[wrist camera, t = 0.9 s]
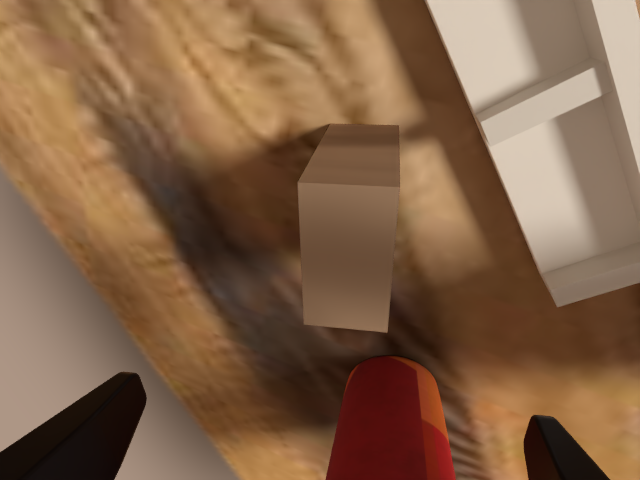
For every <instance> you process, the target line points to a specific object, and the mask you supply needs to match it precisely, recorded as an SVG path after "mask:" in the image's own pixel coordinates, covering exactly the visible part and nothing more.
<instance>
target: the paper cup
mask: <svg viewBox="0 0 640 480" xmlns="http://www.w3.org/2000/svg"><path fill="white" fill-rule="evenodd" d="M326 480H456V479H455V473H454V468H453V462H452V457H451V451H450V446H449V441H448V435H447V430H446V425H445V419H444V414H443V409H442V404H441V399H440V395H439V391H438V387H437V384H436V381H435V379H434V377H433V375H432V374H431V373H430V372H429V371H428V370H427V369H426V368H425V367H424V366H422V365H421V364H419V363H417V362H415V361H413V360H410V359H408V358H404V357H399V356H377V357H373V358H370V359H367V360H365V361H363V362H361V363H360V364H358V365H357V366H356V367H355V368H354V369H353V370H352V372H351V373H350V375H349V378H348V381H347V384H346V388H345V392H344V397H343V401H342V405H341V410H340V414H339V419H338V424H337V428H336V433H335V438H334V442H333V447H332V452H331V457H330V462H329V466H328V471H327V476H326Z"/></svg>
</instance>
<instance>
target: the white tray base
mask: <svg viewBox="0 0 640 480" xmlns="http://www.w3.org/2000/svg"><path fill="white" fill-rule="evenodd" d="M424 1H425V3H426V5H427V8H428V10H429V12H430V15H431V17H432V20H433V22H434V24H435V27H436V29H437V31H438V34H439V36H440V39H441V41H442V43H443V46H444V48H445V50H446V53H447V55H448V58H449V60H450V62H451V65H452V67H453V69H454V72H455V74H456V77H457V79H458V81H459V84H460V86H461V88H462V91H463V93H464V96H465V98H466V100H467V103H468V105H469V107H470V110H471V112H472V115H473V117H474V119H475V122H476V124H477V126H478V129H479V131H480V134H481V136H482V138H483V141H484V143H485V146H486V148H487V150H488V153H489V155H490V157H491V160H492V162H493V165H494V167H495V169H496V172H497V174H498V176H499V179H500V181H501V184H502V186H503V188H504V191H505V193H506V195H507V198H508V200H509V203H510V205H511V207H512V210H513V212H514V214H515V217H516V219H517V222H518V224H519V226H520V229H521V231H522V233H523V236H524V238H525V241H526V243H527V245H528V248H529V250H530V252H531V255H532V257H533V260H534V262H535V264H536V267H537V269H538V271H539V274H540V275H541V277H542V279H543V281H544V283H545V285H546V287H547V289H548V291H549V293H550V294H551V296H552V298H553V300H554V302H555V304H556V306H557V307H560V306H563V305H567V304H570V303H573V302H577V301H580V300H583V299H587V298H590V297H593V296H597V295H600V294H604V293H607V292H610V291H614V290H617V289H620V288H624V287H627V286H630V285H634V284H637V283H640V19H639V15H638V11H637V7H636V3H635V0H424Z"/></svg>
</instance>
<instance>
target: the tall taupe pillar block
mask: <svg viewBox="0 0 640 480" xmlns="http://www.w3.org/2000/svg"><path fill="white" fill-rule="evenodd" d="M399 192H400V159H399V125H361V124H330V125H329V127H328V128H327V130H326V132H325V134H324V136H323V137H322V139H321V141H320V143H319V145H318V146H317V148H316V150H315V152H314V154H313V155H312V157H311V159H310V161H309V163H308V164H307V166H306V168H305V170H304V172H303V174H302V175H301V177H300V179H299V181H298V204H299V226H300V248H301V271H302V293H303V315H304V324H305V325H315V326H325V327H335V328H346V329H356V330H366V331H376V332H387V331H388V320H389V308H390V297H391V285H392V273H393V262H394V250H395V239H396V227H397V215H398V204H399Z"/></svg>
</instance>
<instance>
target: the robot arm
mask: <svg viewBox="0 0 640 480" xmlns="http://www.w3.org/2000/svg"><path fill="white" fill-rule="evenodd" d="M146 399H147V398H146V393H145V390H144V388H143V385H142V382H141V379H140V377H139V375H138V374H137V373H130V372H120V373H118V374H116V375H115V376H113V377H112V378H110V379H109V380H107V381H106V382H104V383H103V384H102V385H100V386H98V387H97V388H95V389H94V390H92V391H91V392H89V393H88V394H87V395H85V396H83V397H82V398H80V399H79V400H77V401H76V402H75V403H73V404H72V405H70V406H69V407H67V408H66V409H64V410H63V411H61V412H60V413H58V414H57V415H55V416H54V417H52V418H51V419H49V420H48V421H46V422H45V423H43V424H42V425H40V426H39V427H37V428H36V429H34V430H33V431H31V432H30V433H28V434H27V435H25V436H24V437H22V438H21V439H20V440H18V441H16V442H15V443H13V444H12V445H10V446H9V447H7V448H6V449H4V450H3V451H1V452H0V480H114V479H115V477H116V475H117V473H118V471H119V469H120V467H121V464H122V462H123V460H124V457H125V455H126V452H127V450H128V448H129V445H130V443H131V440H132V438H133V435H134V433H135V430H136V428H137V425H138V423H139V420H140V417H141V415H142V413H143V410H144V408H145V405H146ZM524 453H525V460H526V466H527V472H528V478H529V480H610V479H609V478H608V477H607V476H606V474H605V473H604V472H603V471H602V470H601V469H600V468H599V467H598V465H597V464H596V463H595V462H594V461H593V460H592V459H591V458H590V456H589V455H588V454H587V453H586V452H585V451H584V450H583V449H582V448H581V446H580V445H579V444H578V443H577V442H576V441H575V440H574V439H573V437H572V436H571V435H570V434H569V433H568V432H567V431H566V430H565V428H564V427H563V426H562V425H561V424H560V423H559V422H558V421H557V420H556V419H555V418H553V417H551V416H543V415H533V416H532V417H531V419H530V422H529V425H528V428H527V431H526V434H525V438H524Z"/></svg>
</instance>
